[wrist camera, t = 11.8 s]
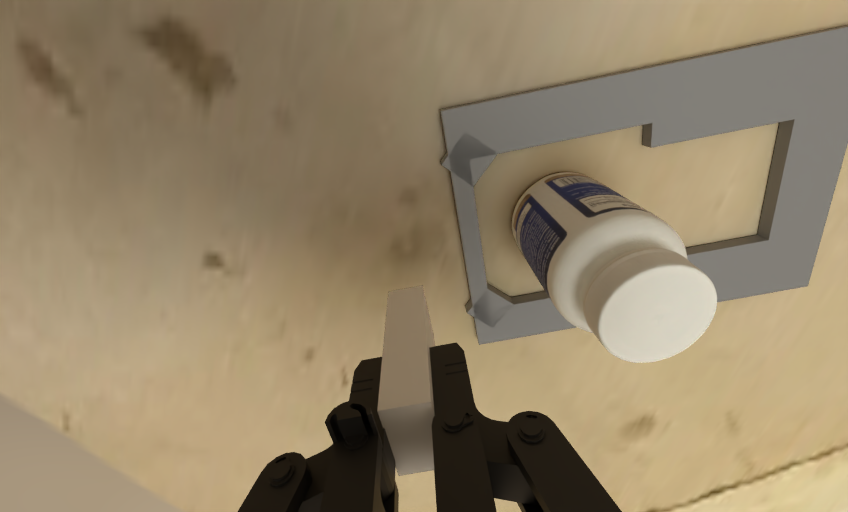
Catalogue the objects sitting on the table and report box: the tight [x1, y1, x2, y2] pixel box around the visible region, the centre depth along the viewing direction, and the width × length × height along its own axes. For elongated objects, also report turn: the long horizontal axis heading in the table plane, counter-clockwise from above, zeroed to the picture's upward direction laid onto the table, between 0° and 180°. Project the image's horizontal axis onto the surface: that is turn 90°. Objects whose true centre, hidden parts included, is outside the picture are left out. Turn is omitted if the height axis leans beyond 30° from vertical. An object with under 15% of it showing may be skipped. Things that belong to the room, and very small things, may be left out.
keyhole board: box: [440, 25, 848, 345], centre depth 21 cm, size 14×20×1 cm
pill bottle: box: [512, 172, 717, 363], centre depth 17 cm, size 5×5×10 cm
